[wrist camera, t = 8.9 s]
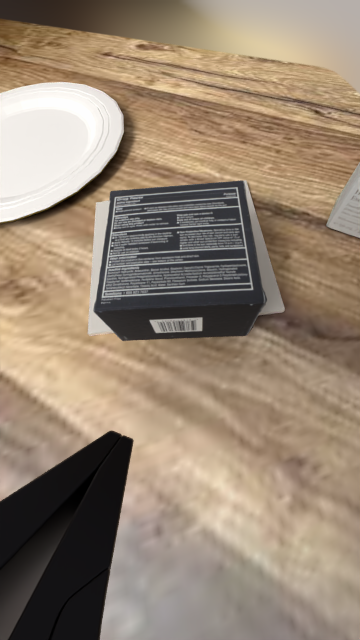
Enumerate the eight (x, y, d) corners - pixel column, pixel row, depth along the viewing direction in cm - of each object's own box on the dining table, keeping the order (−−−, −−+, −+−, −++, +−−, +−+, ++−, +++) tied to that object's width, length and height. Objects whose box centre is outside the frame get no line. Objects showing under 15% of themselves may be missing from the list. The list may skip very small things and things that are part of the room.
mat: (283, 312, 21) (285, 309, 20) (90, 335, 21) (87, 334, 21) (245, 184, 27) (246, 180, 27) (97, 206, 28) (96, 202, 27)
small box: (248, 339, 20) (236, 237, 24) (269, 303, 14) (248, 175, 18) (121, 342, 20) (130, 243, 24) (88, 310, 14) (108, 185, 18)
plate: (28, 83, 42) (20, 68, 40) (168, 118, 34) (166, 102, 32) (-119, 191, 33) (-137, 179, 32) (22, 273, 25) (9, 262, 24)
